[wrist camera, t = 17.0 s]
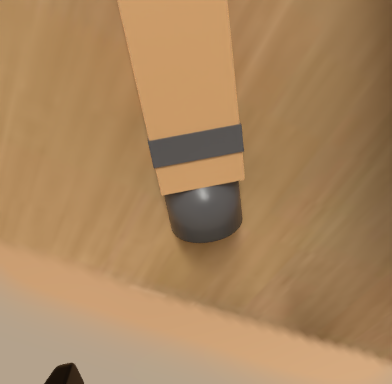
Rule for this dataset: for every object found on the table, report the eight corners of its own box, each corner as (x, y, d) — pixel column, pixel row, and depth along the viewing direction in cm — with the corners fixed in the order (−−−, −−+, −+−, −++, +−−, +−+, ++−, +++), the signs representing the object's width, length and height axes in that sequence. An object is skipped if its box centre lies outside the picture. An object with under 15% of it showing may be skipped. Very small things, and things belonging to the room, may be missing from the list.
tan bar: (79, -195, 13) (53, -270, 9) (187, -211, 13) (200, -292, 9) (168, 210, 21) (172, 250, 17) (234, 197, 21) (251, 235, 17)
